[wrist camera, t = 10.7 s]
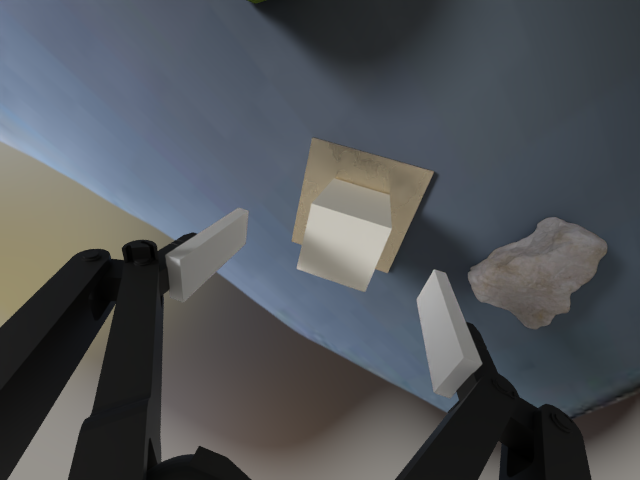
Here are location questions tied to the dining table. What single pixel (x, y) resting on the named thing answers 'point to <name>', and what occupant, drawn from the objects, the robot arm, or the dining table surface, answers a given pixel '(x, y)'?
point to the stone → (539, 271)
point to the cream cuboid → (346, 234)
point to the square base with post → (367, 172)
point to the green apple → (256, 1)
